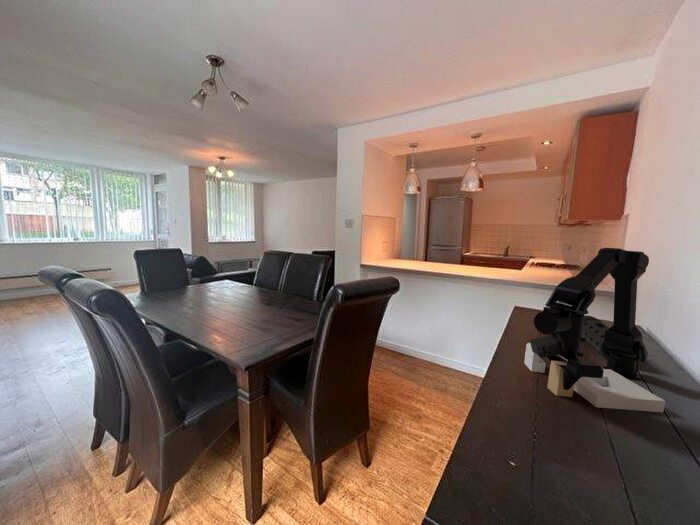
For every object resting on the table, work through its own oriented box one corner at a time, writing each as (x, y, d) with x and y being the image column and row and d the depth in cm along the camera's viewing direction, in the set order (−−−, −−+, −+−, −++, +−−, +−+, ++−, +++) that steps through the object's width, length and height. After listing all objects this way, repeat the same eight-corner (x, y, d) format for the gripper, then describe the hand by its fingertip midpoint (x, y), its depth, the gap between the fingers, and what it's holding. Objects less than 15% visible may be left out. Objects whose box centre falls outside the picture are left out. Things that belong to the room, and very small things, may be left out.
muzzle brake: (597, 362, 98) (601, 333, 97) (569, 335, 124) (572, 312, 123) (632, 368, 95) (637, 338, 93) (596, 339, 120) (600, 315, 119)
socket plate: (609, 378, 86) (610, 369, 86) (663, 412, 70) (665, 401, 70) (554, 374, 87) (555, 365, 87) (596, 407, 71) (597, 396, 71)
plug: (562, 388, 79) (565, 361, 79) (572, 397, 75) (576, 368, 75) (547, 387, 80) (551, 360, 79) (556, 395, 76) (560, 367, 75)
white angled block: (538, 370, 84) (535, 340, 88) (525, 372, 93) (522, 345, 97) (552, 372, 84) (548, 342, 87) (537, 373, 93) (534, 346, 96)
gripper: (518, 317, 85) (512, 366, 87) (560, 341, 67) (551, 403, 69) (557, 319, 85) (550, 369, 86) (610, 345, 66) (600, 407, 68)
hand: (560, 385), depth 77 cm, fingers closed on plug, 4 cm apart
